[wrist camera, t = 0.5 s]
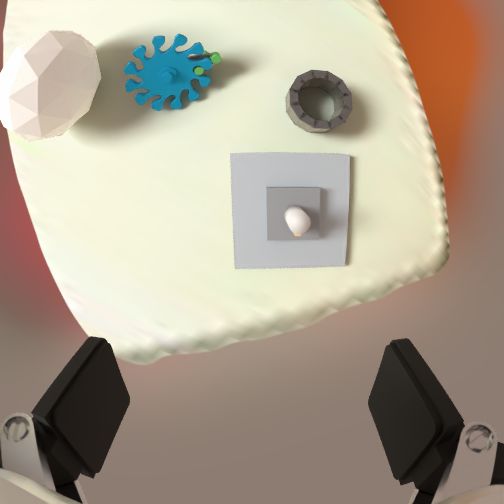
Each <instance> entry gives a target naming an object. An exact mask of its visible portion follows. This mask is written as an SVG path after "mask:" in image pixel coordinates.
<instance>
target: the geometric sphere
mask: <svg viewBox="0 0 504 504" xmlns="http://www.w3.org/2000/svg"><path fill="white" fill-rule="evenodd" d="M101 78H102V76H101V72H100V68H99V64H98V59H97V55H96V50H95V46H93V45H92V44H91V43H90V42H89V41H87V40H86V39H85V38H84V37H82V36H81V35H79V34H77V33H74V32H72V31H48V32H45V33H43V34H41V35H38V36H36V37H34V38H32V39H30V40H28V41H26V42H24V43H22V44H20V45H19V46H18V47H17V48H16V50H15V51H14V53H13V54H12V56H11V57H10V59H9V60H8V62H7V63H6V65H5V66H4V68H3V69H2V71H1V73H0V120H1V122H2V124H3V126H4V127H5V128H7V129H9V130H10V131H12V132H14V133H16V134H17V135H19V136H21V137H22V138H24V139H26V140H28V141H29V142H30V141H34V140H39V139H44V138H49V137H54V136H60V135H62V134H63V133H64V132H65V131H67V130H68V129H69V128H70V127H71V126H72V125H73V124H74V123H75V122H76V121H78V120H79V119H80V118H81V117H82V116H83V115H84V114H86V113H87V112H88V111H89V109H90V106H91V104H92V101H93V98H94V95H95V93H96V90H97V88H98V85H99V83H100V80H101Z"/></svg>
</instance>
